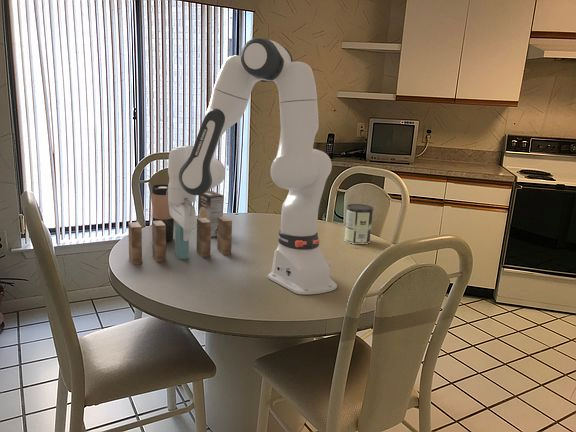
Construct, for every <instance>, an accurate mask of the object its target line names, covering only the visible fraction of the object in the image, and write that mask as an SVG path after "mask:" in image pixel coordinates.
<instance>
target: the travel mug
mask: <svg viewBox="0 0 576 432" xmlns="http://www.w3.org/2000/svg"><path fill="white" fill-rule="evenodd" d="M151 188H152V189H151V190H152V191H151V193H152V197H151V201H152V210H151V211H152V214H151V215H152V216H151V218H152V221H162V222H163V223H164V224H165V225H166V243H168V242H172V241H173V240H174V233H175V229H174V228H175V224H174V219H173V218H172V217H171V216H170V214H169V206H168V197H167V195H166V191H167V190H168V184H154V185H152V186H151Z"/></svg>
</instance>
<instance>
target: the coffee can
mask: <svg viewBox="0 0 576 432" xmlns="http://www.w3.org/2000/svg"><path fill="white" fill-rule="evenodd" d="M373 211H374V207H373V206H372V205H371V206H370V205H367V204H362V203H361V204H360V203H350V204H347V205H346V216H345V228H344V238H343V241H344V242H345V241H346V242H345V243H347V242H348V244H350V243H352V244H351V245H355V244H366V245H369V244H370V243H371V231H372V222H373ZM368 243H369V244H368Z"/></svg>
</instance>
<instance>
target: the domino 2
mask: <svg viewBox="0 0 576 432" xmlns="http://www.w3.org/2000/svg"><path fill="white" fill-rule="evenodd" d="M174 228H175V229H174V236H175V237H174V246H175V247H174V254H175V256H176V257H177V258H178V260H187V259H190V250H189V249H190V240H189V241H184V240H183V233H184V231H183V228H182V227H181V226H180V225H179V224H178V223H177V222H176V221H175V224H174Z"/></svg>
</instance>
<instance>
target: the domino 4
mask: <svg viewBox="0 0 576 432" xmlns="http://www.w3.org/2000/svg"><path fill="white" fill-rule="evenodd" d="M232 232H233V220H232V219H230V218H229V217H228V216H224V215H223V217H218V235H217V236H216V237H217V239H216V240H217V243H216V244H217V246H216V249H217V251H218V252H219V253H220V254H222V256H224V255H225V256H226V255H232V239H233V238H232V237H233V233H232Z"/></svg>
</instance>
